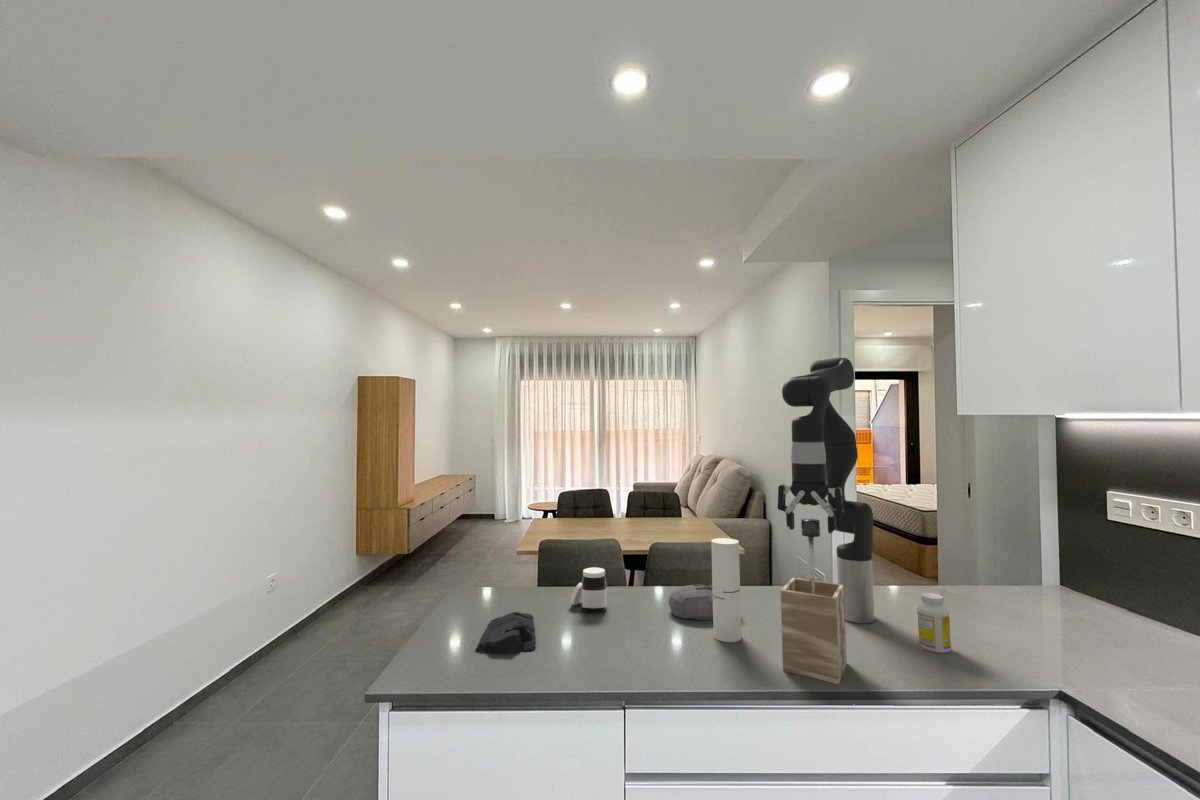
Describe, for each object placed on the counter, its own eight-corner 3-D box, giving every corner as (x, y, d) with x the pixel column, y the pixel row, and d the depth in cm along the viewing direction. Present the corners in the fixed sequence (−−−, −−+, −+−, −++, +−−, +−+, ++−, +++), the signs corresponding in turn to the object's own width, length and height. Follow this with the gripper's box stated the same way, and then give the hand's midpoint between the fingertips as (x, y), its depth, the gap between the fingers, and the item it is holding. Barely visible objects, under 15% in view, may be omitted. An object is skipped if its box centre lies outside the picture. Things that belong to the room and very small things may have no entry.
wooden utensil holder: (794, 651, 126) (792, 577, 127) (846, 663, 120) (843, 584, 121) (783, 670, 117) (780, 590, 118) (838, 684, 110) (835, 598, 111)
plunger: (798, 607, 125) (795, 515, 126) (837, 614, 120) (833, 518, 122) (789, 619, 118) (786, 521, 119) (830, 626, 113) (827, 524, 114)
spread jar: (606, 614, 153) (606, 574, 154) (569, 614, 153) (568, 575, 154) (606, 600, 165) (606, 564, 166) (571, 601, 165) (571, 564, 166)
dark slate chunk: (540, 621, 150) (540, 605, 150) (534, 655, 128) (534, 635, 128) (487, 623, 149) (487, 606, 149) (472, 657, 127) (472, 637, 127)
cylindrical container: (742, 643, 132) (739, 544, 133) (713, 641, 133) (711, 543, 135) (740, 632, 139) (737, 538, 140) (713, 630, 140) (711, 537, 142)
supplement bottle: (946, 644, 130) (944, 592, 130) (954, 655, 123) (952, 601, 124) (916, 641, 132) (913, 590, 132) (922, 652, 126) (920, 598, 126)
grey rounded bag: (726, 603, 162) (663, 606, 161) (726, 576, 162) (663, 578, 161) (742, 621, 147) (673, 624, 145) (742, 592, 147) (673, 594, 146)
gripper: (844, 461, 120) (846, 531, 119) (781, 459, 128) (783, 525, 127) (838, 463, 114) (841, 537, 113) (773, 461, 122) (775, 530, 121)
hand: (810, 530), depth 120 cm, fingers open, 8 cm apart
